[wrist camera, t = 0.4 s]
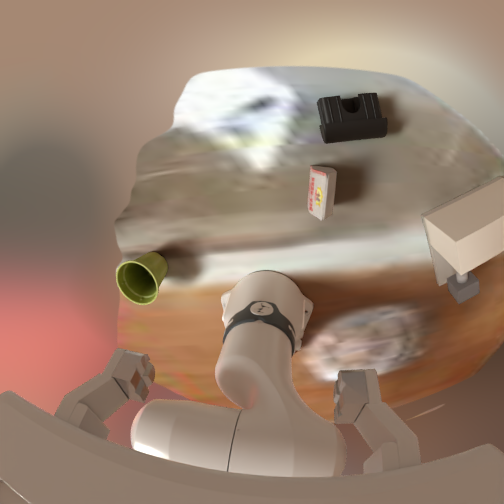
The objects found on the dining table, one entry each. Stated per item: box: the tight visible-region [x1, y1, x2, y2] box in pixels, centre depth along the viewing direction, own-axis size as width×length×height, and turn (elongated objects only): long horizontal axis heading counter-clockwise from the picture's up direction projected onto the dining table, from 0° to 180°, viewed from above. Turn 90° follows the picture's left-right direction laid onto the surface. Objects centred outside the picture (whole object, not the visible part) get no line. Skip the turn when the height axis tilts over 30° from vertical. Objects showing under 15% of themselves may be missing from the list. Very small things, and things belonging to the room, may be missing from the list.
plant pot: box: [116, 252, 168, 305], centre depth 54 cm, size 9×9×9 cm
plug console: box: [421, 176, 504, 286], centre depth 38 cm, size 16×22×14 cm
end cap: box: [317, 93, 387, 144], centre depth 39 cm, size 10×7×7 cm
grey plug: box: [447, 271, 480, 304], centre depth 41 cm, size 4×5×5 cm
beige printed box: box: [308, 165, 337, 221], centre depth 42 cm, size 4×7×10 cm, turn 178°
